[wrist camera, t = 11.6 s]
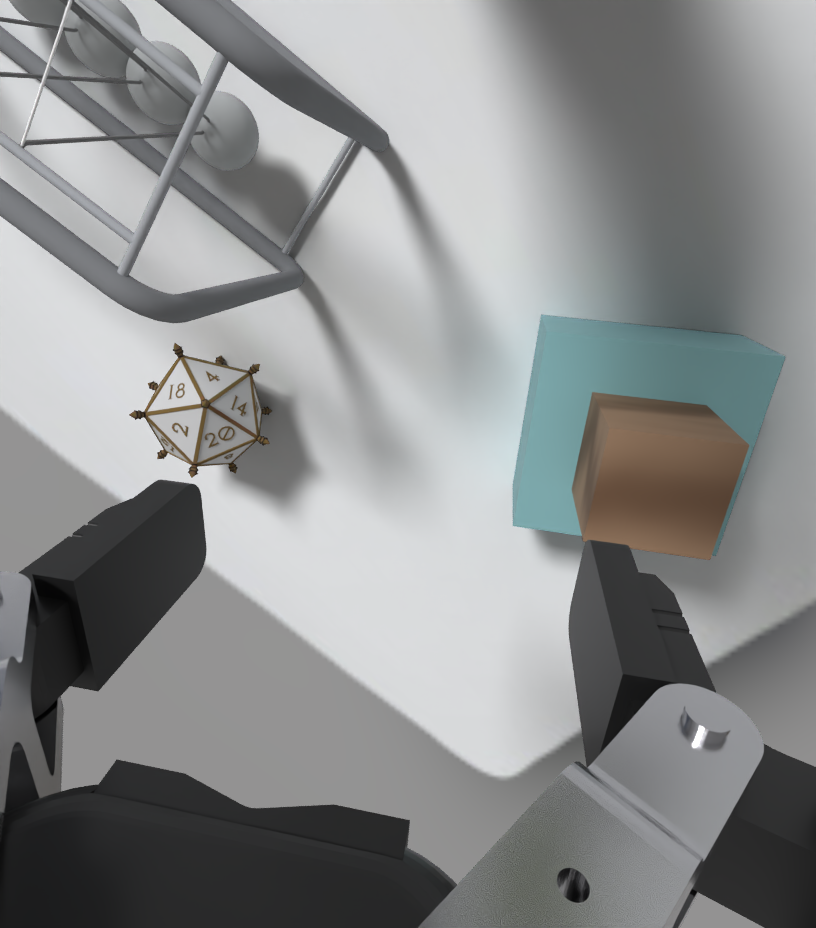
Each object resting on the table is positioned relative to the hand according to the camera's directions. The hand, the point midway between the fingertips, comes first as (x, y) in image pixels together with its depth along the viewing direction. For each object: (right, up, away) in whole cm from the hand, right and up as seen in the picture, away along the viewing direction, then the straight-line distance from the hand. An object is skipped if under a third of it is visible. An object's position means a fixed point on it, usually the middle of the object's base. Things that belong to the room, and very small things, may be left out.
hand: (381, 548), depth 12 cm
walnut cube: (+13, +3, +20) cm, 24 cm away
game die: (-12, +7, +30) cm, 33 cm away
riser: (+14, +5, +26) cm, 30 cm away
